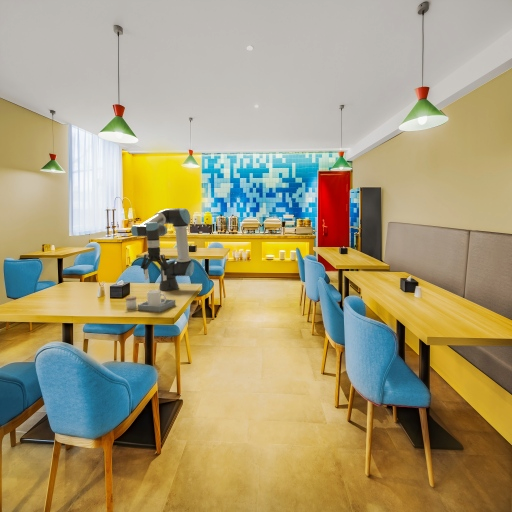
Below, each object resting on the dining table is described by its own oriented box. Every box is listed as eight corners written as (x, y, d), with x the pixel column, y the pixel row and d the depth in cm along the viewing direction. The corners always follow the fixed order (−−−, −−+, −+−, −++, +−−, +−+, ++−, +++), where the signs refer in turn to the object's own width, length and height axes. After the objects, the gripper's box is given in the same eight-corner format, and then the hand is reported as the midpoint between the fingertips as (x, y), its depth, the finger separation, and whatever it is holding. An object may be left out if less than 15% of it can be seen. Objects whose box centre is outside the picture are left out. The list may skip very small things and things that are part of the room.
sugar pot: (130, 306, 212) (130, 296, 211) (139, 306, 210) (138, 296, 209) (123, 308, 206) (123, 298, 205) (132, 309, 204) (131, 299, 203)
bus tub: (154, 303, 218) (154, 298, 217) (175, 305, 213) (175, 300, 212) (138, 310, 202) (137, 304, 202) (160, 312, 197) (160, 306, 197)
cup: (151, 304, 212) (150, 289, 211) (168, 305, 211) (168, 290, 209) (145, 308, 204) (144, 292, 203) (163, 308, 202) (163, 293, 201)
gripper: (133, 247, 203) (135, 280, 206) (167, 248, 195) (169, 282, 198) (141, 245, 210) (143, 277, 213) (174, 246, 202) (175, 279, 205)
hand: (155, 279), depth 205 cm, fingers open, 13 cm apart
